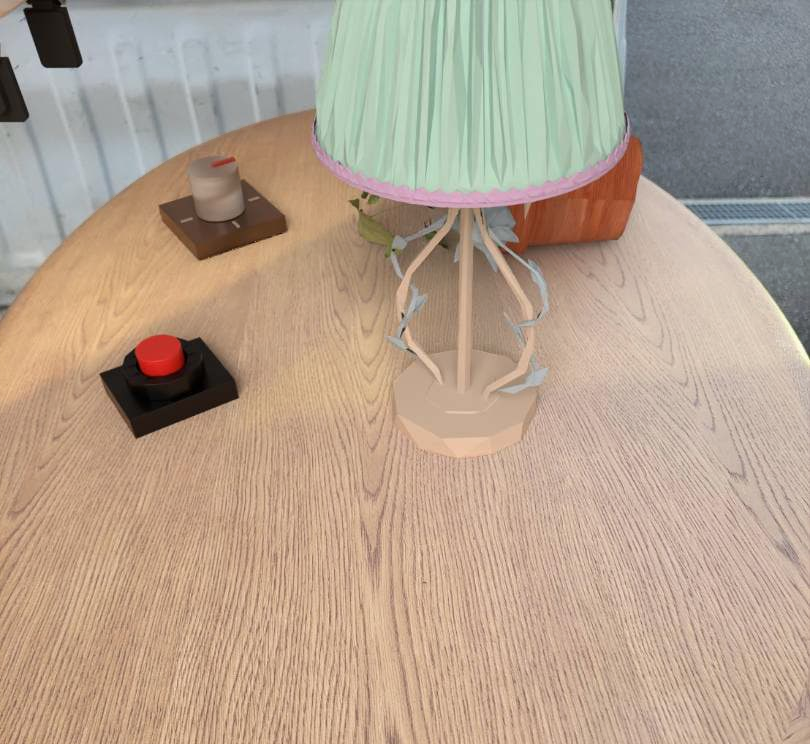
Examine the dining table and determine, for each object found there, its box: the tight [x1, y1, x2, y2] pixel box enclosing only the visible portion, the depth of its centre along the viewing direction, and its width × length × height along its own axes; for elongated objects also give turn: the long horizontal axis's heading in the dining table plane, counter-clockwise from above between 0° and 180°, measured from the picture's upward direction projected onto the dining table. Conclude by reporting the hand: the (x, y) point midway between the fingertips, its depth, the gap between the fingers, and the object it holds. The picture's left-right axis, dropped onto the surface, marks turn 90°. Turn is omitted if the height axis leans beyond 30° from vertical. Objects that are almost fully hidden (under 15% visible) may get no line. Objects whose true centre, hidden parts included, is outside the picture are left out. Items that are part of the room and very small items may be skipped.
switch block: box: [99, 336, 240, 440], centre depth 79 cm, size 10×8×4 cm
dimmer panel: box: [158, 178, 288, 261], centre depth 101 cm, size 11×11×2 cm
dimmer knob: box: [186, 155, 245, 222], centre depth 98 cm, size 6×6×5 cm
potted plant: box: [348, 134, 644, 258], centre depth 91 cm, size 16×15×35 cm
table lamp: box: [310, 0, 632, 460], centre depth 63 cm, size 22×22×40 cm
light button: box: [135, 334, 185, 376], centre depth 77 cm, size 4×4×2 cm
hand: (37, 92), depth 64 cm, fingers open, 9 cm apart
